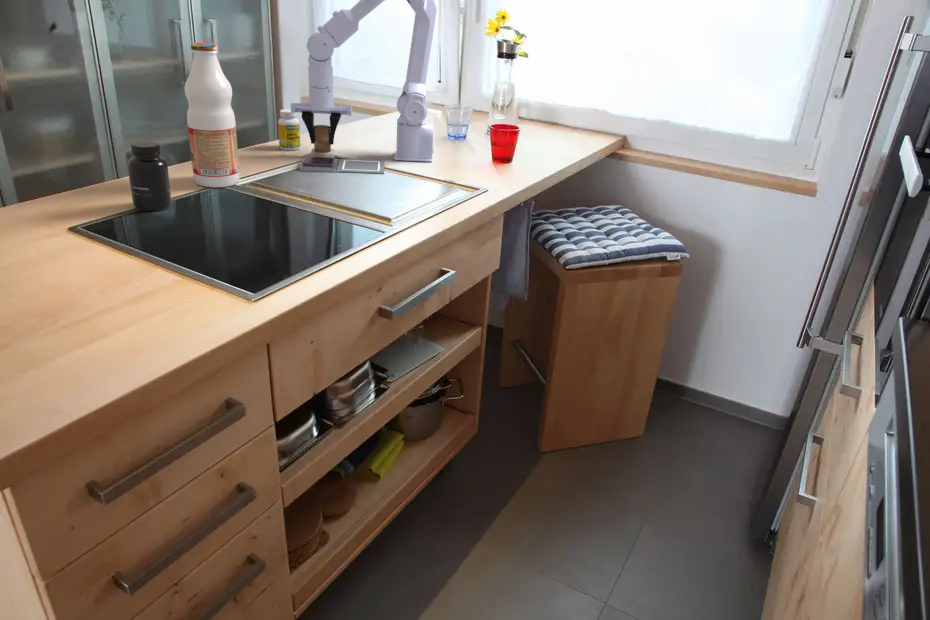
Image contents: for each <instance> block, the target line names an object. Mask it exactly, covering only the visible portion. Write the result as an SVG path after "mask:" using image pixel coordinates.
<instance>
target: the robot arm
mask: <svg viewBox="0 0 930 620" xmlns="http://www.w3.org/2000/svg"><path fill="white" fill-rule="evenodd" d="M385 1H386V0H358V1H357V3H355V5H353V6H352V7H351V8H350V9H344V8H343V9H340V10H339V11H337V10H335V11H333V12H332V17H331V18H330V19H329V20H327V21H326V22H325V24H323V25H318V26H317V30H318V32H314V33H312V34H311V35H310V36H309V37H308V39H307V41H306V42H307V43H306V48H307V51H308V53H309V54H308V59H307V62H308V66H307V74H308V98H309V99H308V100H309V101H308V102H299V103H298V102H292V103H290V109H291V113H295V112H296V113H301V119H302V121H303V123H304V125H305V126H306V129H307V132H308V135H309V138H310V143H311V144H312V145H313V144H314V126H315V121H314V120H315V114H321V115H325V114H326V115H329V126H330V144H331V145H332V146H333V145H334V143H335V135H336V131H337V128H338V125H339V122H340V120H341V117H342V115H345V116H350V117H351V116H352V115H353V107H352V105H340V104H335V103H334V79H333V78H334V71H333V70H334V67H333V66H332V56H333V55H334V51H335V48H337V49H338V48H339V47H341V46H342V45H343V44H345V42H346V41H348V39H350V38H351V37H352V36H353V35H354V34H355V33H357V32H358V31H359V22H360V21H362V20H363V19H364V18H365V17H366V16H368V14H370V13H371V12H372V11H374V10H375V9H376V8H377V7H378V6H380V5H381V4H382V3H384V2H385ZM406 2H407V3H408V5H409V6H410V8H411V9H412V10H413V11H414V14H415V16H414V22H413V29H412V35H411V42H410V48H409V55H408V56H409V57H408V63H407V69H406V76H405V81H404V84H403V86H402V92H401V95H400V96H398V99H397V101H396V109H397V111H398V113H399V114H400V115H399V117H398V118H397V120H396V150H395V151H394V160H395V161H407V162H408V161H409V162H427V163H428V162H429V163H430V162H431V163H432V162H433V154H434V146H433V145H434V124H433V123H427V121H426V120H425V119H426V117H427V115H428V109H427V104H426V97H427V95H426V94H427V93H426V81H427V75H428V71H429V70H428V69H429V62H430V57H431V49H432V43H433V38H434V32H435V24H436V18H437V11H438V9H437V8H438V7H437V4H436V1H435V0H406Z"/></svg>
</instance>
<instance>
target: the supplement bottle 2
mask: <svg viewBox="0 0 930 620" xmlns="http://www.w3.org/2000/svg"><path fill="white" fill-rule="evenodd" d="M279 115H280V118H279V119H278V120H277V126H278V127H277V128H278V129H277V131H278V142H279V143H278V145H279V149H281V150H282V151H298V150H300V149H301V129H300V128H301V126H300V121H299V119H298V118H296V117H297V112H295V113H291V108H289V109H287V108H286V109H280V110H279Z"/></svg>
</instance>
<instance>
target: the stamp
mask: <svg viewBox="0 0 930 620" xmlns="http://www.w3.org/2000/svg"><path fill="white" fill-rule="evenodd" d="M331 147H332V146H331V144H330V125H326V124H317V125H315V124H314V145H313V147H312V148H311V151H310V152H309V154H310V155H309V157H326V158H334V159H335V154H336V151H335V150H336V149H335V148H331Z"/></svg>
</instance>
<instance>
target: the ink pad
mask: <svg viewBox="0 0 930 620" xmlns="http://www.w3.org/2000/svg"><path fill="white" fill-rule="evenodd" d="M337 165H338V160H337V159H335V157H334V158H326V157H310V156H305V157H304V158H302V161H301V163H300V165H299V171H300V172H301V171H303V172H304V171H305V172H320V173H321V172H325V173H335V172H336V170H337V169H336V168H337V167H338V166H337Z"/></svg>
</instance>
